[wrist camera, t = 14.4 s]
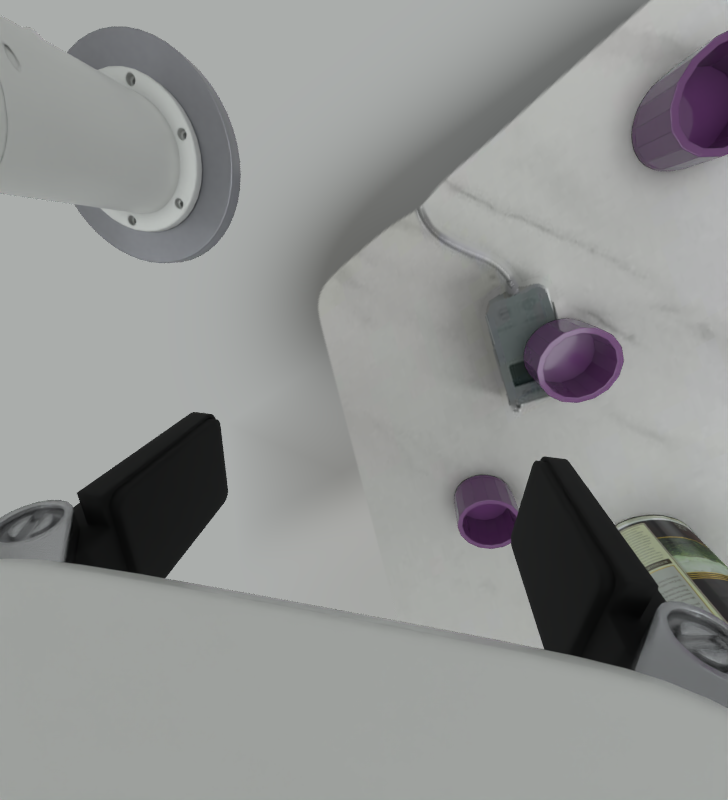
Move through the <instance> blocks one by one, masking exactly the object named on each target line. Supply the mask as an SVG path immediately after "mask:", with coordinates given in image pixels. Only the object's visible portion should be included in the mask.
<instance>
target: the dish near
mask: <svg viewBox="0 0 728 800" xmlns="http://www.w3.org/2000/svg"><path fill="white" fill-rule="evenodd" d="M632 143H633V148H634V151H635V153H636V155H637V157H638V158H639V160H640V161H641V162H642V163H643V164H644V165H646V166H647V167H649V168H651V169H654V170H657V171H675V170H681V169H684V168H687V167H691V166H694V165H697V164H700V163H703V162H706V161H709V160H712V159H716V158H719V157H722V156H724V155H727V154H728V31H726V32H724V33H722V34H720V35H718V36H716V37H715V38H714V39H712V40H711V41H710V42H708V43H707V44H705V45H704V46H703V47H701V48H700V49H699V50H697V51H696V52H694V53H693V54H692V55H690V56H689V57H688V58H686V59H685V60H683V61H682V62H681V63H679V64H678V65H677V66H675V67H674V68H672V69H671V70H670V71H669V72H668V73H667V74H666V75H664V76H663V77H662V78H661V79H660V80H658V81H657V82H656V83H655V84H654V85H653V87H652V88H651V89H650V90H649V91H648V93H647V94H646V96H645V97H644V99H643V100H642V102H641V104H640V106H639V108H638V110H637V113H636V115H635V119H634V122H633V127H632Z"/></svg>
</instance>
